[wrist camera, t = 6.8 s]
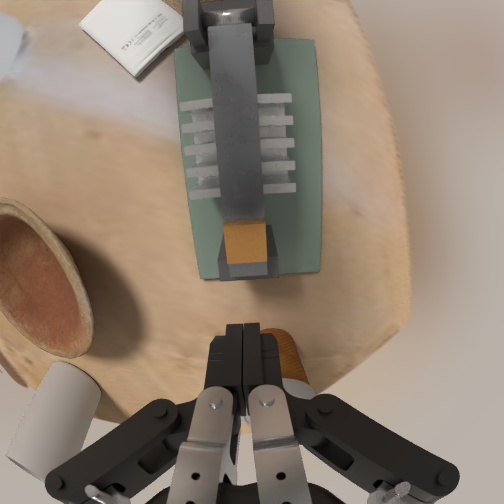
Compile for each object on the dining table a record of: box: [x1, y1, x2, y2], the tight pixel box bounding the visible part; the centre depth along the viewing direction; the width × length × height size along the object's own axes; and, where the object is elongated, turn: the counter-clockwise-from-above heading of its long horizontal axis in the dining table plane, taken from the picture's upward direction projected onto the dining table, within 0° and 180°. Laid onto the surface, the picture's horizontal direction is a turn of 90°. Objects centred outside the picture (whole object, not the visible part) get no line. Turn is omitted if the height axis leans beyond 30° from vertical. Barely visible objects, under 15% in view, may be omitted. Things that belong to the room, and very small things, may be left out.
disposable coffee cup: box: [241, 329, 317, 427], centre depth 32 cm, size 10×10×12 cm
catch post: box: [217, 225, 279, 281], centre depth 27 cm, size 2×5×8 cm, turn 94°
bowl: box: [0, 198, 95, 359], centre depth 28 cm, size 24×24×8 cm
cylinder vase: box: [5, 361, 101, 483], centre depth 32 cm, size 12×12×25 cm
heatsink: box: [180, 93, 296, 200], centre depth 22 cm, size 8×8×8 cm
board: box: [174, 39, 322, 279], centre depth 27 cm, size 26×14×1 cm, turn 4°
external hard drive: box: [79, 0, 184, 78], centre depth 19 cm, size 2×8×12 cm
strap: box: [202, 8, 268, 277], centre depth 18 cm, size 21×4×2 cm, turn 4°
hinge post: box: [183, 0, 275, 70], centre depth 17 cm, size 5×6×11 cm
